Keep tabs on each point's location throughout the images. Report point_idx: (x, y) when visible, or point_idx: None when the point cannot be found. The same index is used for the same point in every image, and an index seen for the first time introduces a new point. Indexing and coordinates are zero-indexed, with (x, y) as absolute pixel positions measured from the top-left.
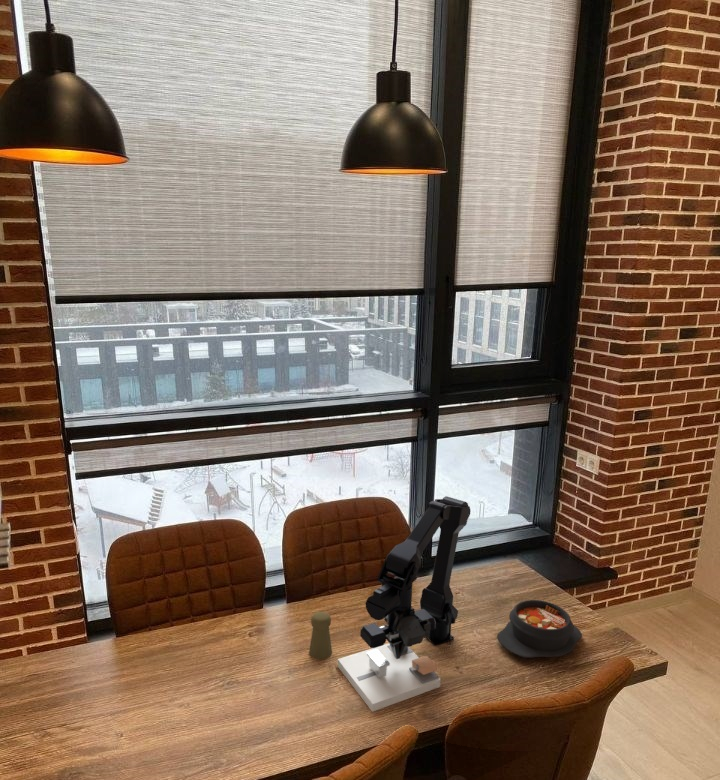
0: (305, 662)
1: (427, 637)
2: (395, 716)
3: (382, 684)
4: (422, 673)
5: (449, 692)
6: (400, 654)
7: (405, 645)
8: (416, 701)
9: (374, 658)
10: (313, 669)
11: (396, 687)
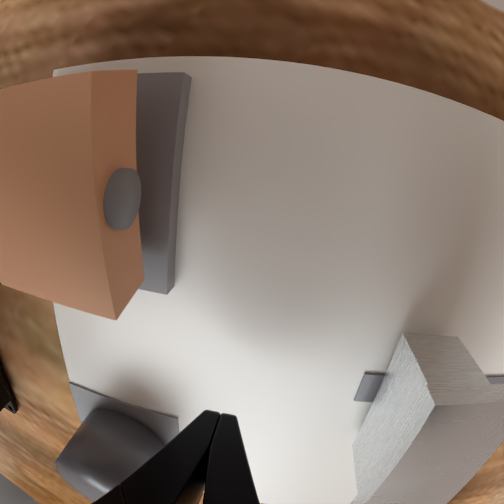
0: (466, 499)
1: (2, 386)
2: (501, 47)
3: (473, 276)
4: (133, 93)
5: (82, 20)
6: (191, 437)
7: (92, 442)
8: (316, 35)
9: (452, 484)
10: (483, 476)
11: (423, 178)
